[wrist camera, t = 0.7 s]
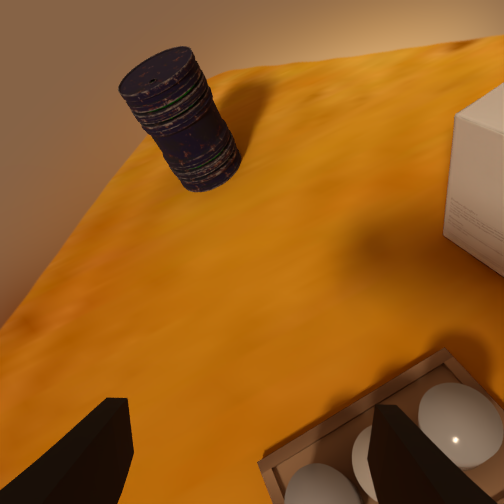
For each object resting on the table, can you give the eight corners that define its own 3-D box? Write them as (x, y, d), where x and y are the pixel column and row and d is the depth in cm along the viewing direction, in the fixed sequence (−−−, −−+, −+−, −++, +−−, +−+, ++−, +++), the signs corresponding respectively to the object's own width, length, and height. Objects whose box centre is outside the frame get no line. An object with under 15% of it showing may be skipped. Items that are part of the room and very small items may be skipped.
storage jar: (182, 160, 54) (123, 68, 43) (239, 137, 52) (193, 36, 41) (180, 201, 48) (111, 107, 37) (244, 178, 46) (192, 70, 35)
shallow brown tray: (564, 481, 19) (569, 481, 19) (325, 630, 19) (322, 633, 19) (443, 351, 25) (444, 347, 25) (260, 463, 25) (257, 462, 25)
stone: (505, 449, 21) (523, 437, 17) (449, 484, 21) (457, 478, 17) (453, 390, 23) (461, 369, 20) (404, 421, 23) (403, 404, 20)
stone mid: (442, 488, 21) (448, 483, 17) (386, 523, 21) (382, 524, 17) (397, 424, 23) (396, 409, 20) (348, 455, 23) (338, 445, 20)
